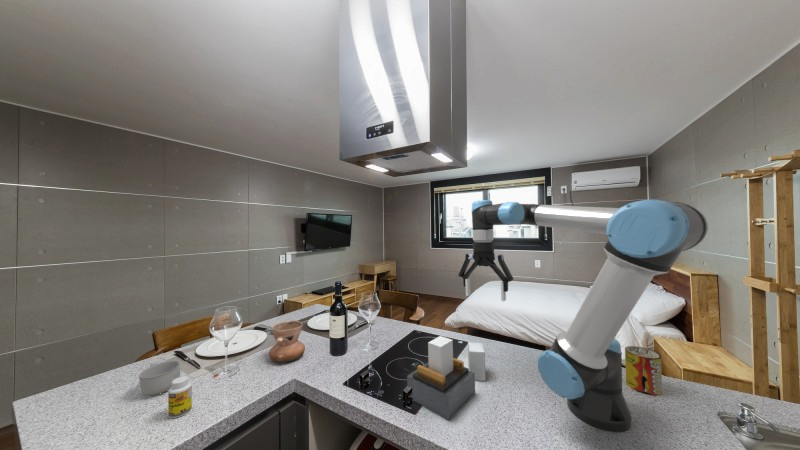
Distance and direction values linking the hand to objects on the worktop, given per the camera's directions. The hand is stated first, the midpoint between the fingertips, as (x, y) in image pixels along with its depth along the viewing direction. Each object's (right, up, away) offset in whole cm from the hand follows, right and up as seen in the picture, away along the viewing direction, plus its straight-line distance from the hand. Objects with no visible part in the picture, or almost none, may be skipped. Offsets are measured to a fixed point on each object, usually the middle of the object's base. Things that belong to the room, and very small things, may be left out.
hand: (485, 297), depth 98 cm
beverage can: (+51, -28, -9) cm, 59 cm away
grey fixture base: (-18, -29, -12) cm, 36 cm away
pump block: (-18, -21, -12) cm, 30 cm away
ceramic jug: (-82, -31, +17) cm, 89 cm away
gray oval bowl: (-118, -32, -5) cm, 123 cm away
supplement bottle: (-100, -31, -18) cm, 106 cm away
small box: (-3, -29, 0) cm, 29 cm away
